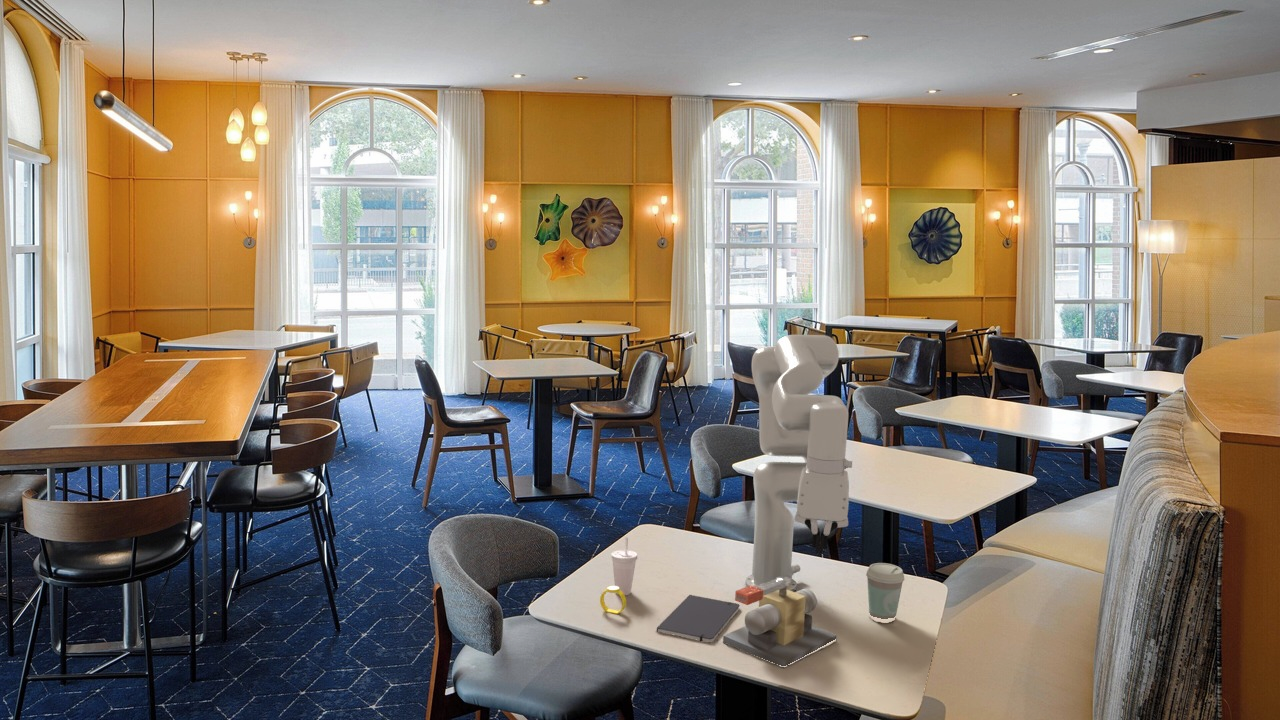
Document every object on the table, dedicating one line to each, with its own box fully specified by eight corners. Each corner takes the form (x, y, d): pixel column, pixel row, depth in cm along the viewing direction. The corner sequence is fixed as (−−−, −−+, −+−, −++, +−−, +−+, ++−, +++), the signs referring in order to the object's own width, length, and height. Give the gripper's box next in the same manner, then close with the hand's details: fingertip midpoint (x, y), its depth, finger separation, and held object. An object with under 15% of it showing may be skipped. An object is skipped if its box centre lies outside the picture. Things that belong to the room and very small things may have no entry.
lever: (781, 582, 202) (781, 573, 201) (793, 586, 199) (793, 578, 199) (735, 600, 191) (735, 591, 190) (747, 605, 188) (747, 595, 188)
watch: (599, 613, 214) (598, 588, 213) (604, 609, 216) (603, 584, 216) (623, 616, 211) (622, 591, 211) (627, 612, 214) (627, 586, 213)
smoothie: (625, 599, 221) (627, 542, 219) (604, 592, 225) (606, 536, 223) (641, 591, 226) (643, 536, 224) (620, 585, 230) (622, 530, 228)
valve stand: (776, 618, 213) (779, 566, 212) (836, 641, 202) (839, 586, 200) (723, 642, 200) (725, 586, 198) (783, 668, 189) (787, 609, 187)
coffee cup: (880, 628, 210) (884, 577, 208) (855, 614, 217) (858, 564, 216) (909, 622, 214) (913, 572, 212) (883, 608, 221) (887, 560, 220)
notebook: (689, 600, 223) (656, 634, 204) (689, 594, 223) (656, 627, 204) (740, 610, 219) (711, 646, 199) (740, 604, 218) (711, 639, 199)
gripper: (863, 463, 189) (856, 548, 193) (788, 456, 192) (783, 541, 195) (864, 473, 182) (857, 562, 185) (787, 466, 185) (781, 554, 188)
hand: (819, 551), depth 190 cm, fingers closed
